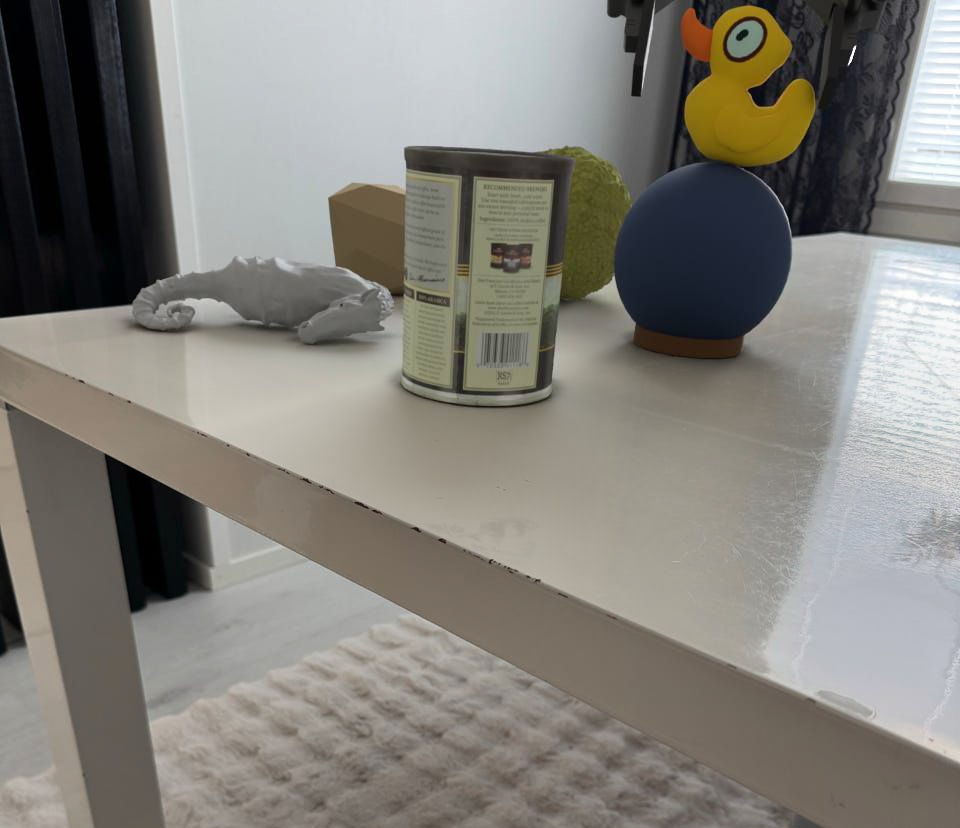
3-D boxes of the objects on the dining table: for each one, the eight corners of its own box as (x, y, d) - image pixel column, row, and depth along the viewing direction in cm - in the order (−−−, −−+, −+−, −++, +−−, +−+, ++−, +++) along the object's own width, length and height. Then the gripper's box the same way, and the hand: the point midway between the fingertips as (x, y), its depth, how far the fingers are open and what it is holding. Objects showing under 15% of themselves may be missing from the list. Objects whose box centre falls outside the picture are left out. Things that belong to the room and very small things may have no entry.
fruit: (440, 292, 95) (453, 142, 96) (530, 334, 106) (541, 199, 106) (572, 259, 85) (585, 89, 85) (656, 309, 95) (668, 159, 95)
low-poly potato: (297, 289, 94) (322, 245, 83) (317, 183, 94) (345, 126, 84) (438, 334, 99) (480, 299, 89) (457, 233, 100) (500, 186, 89)
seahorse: (117, 327, 68) (397, 294, 70) (125, 246, 75) (378, 219, 77) (139, 388, 72) (403, 355, 74) (144, 306, 79) (384, 278, 81)
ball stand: (765, 340, 86) (801, 166, 79) (778, 375, 73) (821, 173, 67) (609, 324, 87) (631, 153, 81) (596, 356, 75) (620, 157, 69)
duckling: (646, 141, 71) (691, -16, 66) (647, 141, 76) (689, -6, 71) (793, 181, 71) (850, 26, 66) (785, 179, 76) (837, 34, 71)
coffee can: (476, 361, 70) (490, 147, 64) (583, 393, 64) (611, 159, 57) (366, 378, 64) (368, 141, 57) (473, 416, 58) (490, 155, 51)
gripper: (909, -72, 77) (893, 141, 71) (600, -85, 80) (561, 117, 75) (944, -175, 70) (929, 53, 64) (603, -185, 73) (560, 31, 67)
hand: (731, 88), depth 69 cm, fingers open, 13 cm apart
